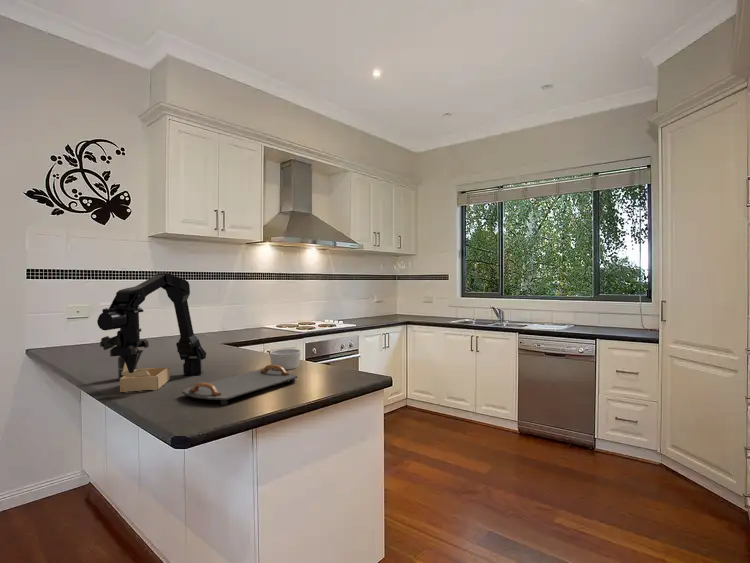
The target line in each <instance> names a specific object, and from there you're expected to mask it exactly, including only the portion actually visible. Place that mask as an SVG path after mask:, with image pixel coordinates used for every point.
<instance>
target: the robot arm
mask: <svg viewBox="0 0 750 563" xmlns="http://www.w3.org/2000/svg"><path fill="white" fill-rule="evenodd" d="M190 287H191V286H190V282H189V281H187V280H186V279H184V278H181V277H178V276H175V275H173V274H172V273H169V272H158V273H156V274H154V275H153V276H152V277H151V278H148V279H146V280H145V281H143V282H141V283H140V284H138V285H136V286H130V287H126V288H123V289H119V290H118V291H116V293H115V297H114V298H113V300H112V302H111V304H110V306H109V307H108V308H103V309H102V313H100V314H99V315H98V318H97V327H99V329H100V330H102V331H111V330H117V329H119V330H118V331H117V332H116V335H115V336H111V337H110V336H109V335H106V336H104V337H101V339H100V341H99V347H101V348H103V350H104V351H107V350H108V349H110V350H109V357H119V356H121V357H122V358H123V359H124V361H125V363H126V366H127V368H128V371H129V373H133V372H134V370H135V367H136V365H137V366H138V362H139V360H140V359H141V356H142V354H143V352H144V350H143V349H141V350H140V349H139V348H144V349H146V348H149V347H150V346H149V340H147V339H146V338H142V339H141V338H140V332H142V328H140V313H143V312H145V311H144V309H143V308H142V307H140V305H141V304H142V303H143V302H144V301H145V300H146V297H147V296H149V295H150V294H152V293H153V292H155V291H157V290H159V289H163V290H165V292H166V294H167V297H168V299H170V301H171V302H172V303H173V306H174V310H175V316H176V321H177V327H178V331H179V336H180V337H179V340H178V341H177V342H176V344H175V345H176V349H177V353H178V355H179V357H180V361H184V363H183V364H182V365H183V369H182V370H183V376H184V377H185V376H186V377H189V376H191V377H192V376H201V375H202V374H203V373H204V370H203V360H205V359H206V358H207V352H206V351H205V350H204V348H203V346H202V345H201V342H200V339H199V338H198V337H197V336H196V335H195V333H194V329H193V323H192V318H191V314H190V308H189V303H188V299H189V297H190V294H191V290H190V289H191V288H190Z"/></svg>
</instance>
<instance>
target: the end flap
mask: <svg viewBox="0 0 750 563" xmlns="http://www.w3.org/2000/svg"><path fill="white" fill-rule="evenodd" d="M121 373H122V374H123V375H124V376H125V377H134V376H150V373H149V372H148V371H147V370H142V371H134V372H133V373H129V371H126V372H121Z"/></svg>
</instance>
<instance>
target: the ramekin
mask: <svg viewBox="0 0 750 563" xmlns="http://www.w3.org/2000/svg"><path fill="white" fill-rule="evenodd" d="M301 354H302V351H301V350H300V349H297V348H296V349H295V348H283V349H282V348H281V349H275V350H271V351H270V352H269V357H270V365H279V366H281V367H283V368H284V369H285V371H287V370H294V369H297V368H298V367H299V366H300V362H301ZM273 369H274V370H275V371H280V370H279V369H276V368H273Z"/></svg>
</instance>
